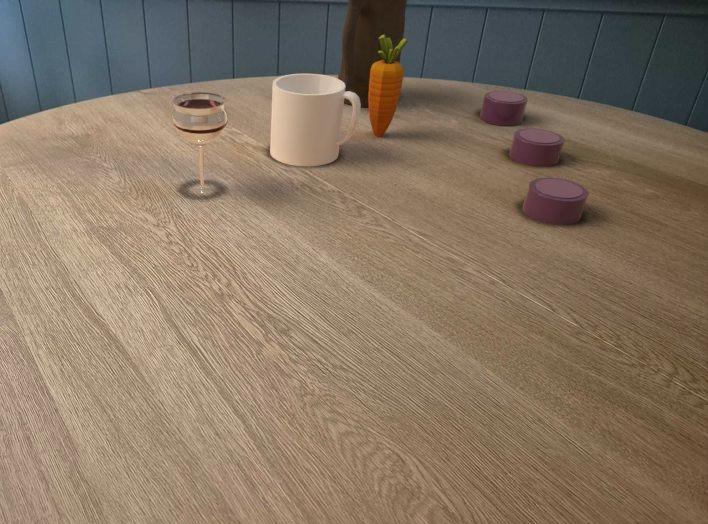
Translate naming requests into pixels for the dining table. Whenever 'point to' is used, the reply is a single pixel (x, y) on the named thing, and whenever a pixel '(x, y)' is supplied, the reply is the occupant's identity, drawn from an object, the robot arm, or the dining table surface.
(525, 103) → the dish
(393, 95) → the carrot
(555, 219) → the dish
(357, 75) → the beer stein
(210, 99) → the wineglass
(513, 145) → the dish
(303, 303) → the dining table surface
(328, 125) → the mug
